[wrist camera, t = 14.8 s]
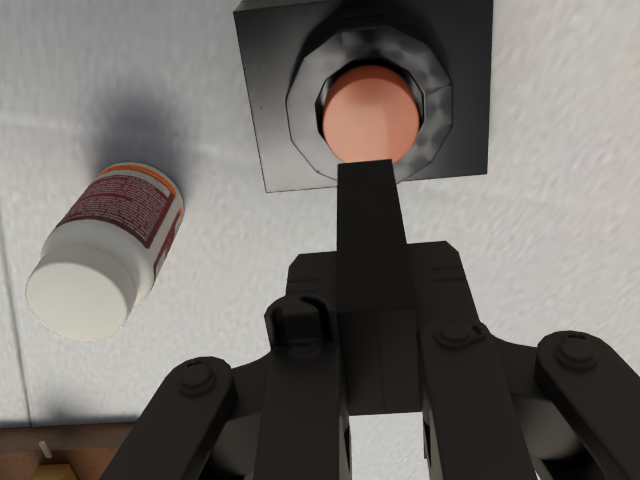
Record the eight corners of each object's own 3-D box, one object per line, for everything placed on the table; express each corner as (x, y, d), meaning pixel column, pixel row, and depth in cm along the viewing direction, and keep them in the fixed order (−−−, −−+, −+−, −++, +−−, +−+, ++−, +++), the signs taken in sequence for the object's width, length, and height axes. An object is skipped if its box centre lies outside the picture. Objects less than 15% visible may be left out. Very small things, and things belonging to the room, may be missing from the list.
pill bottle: (75, 171, 30) (-11, 267, 23) (163, 149, 29) (103, 241, 22) (117, 249, 32) (51, 358, 25) (199, 231, 31) (155, 338, 24)
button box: (270, 172, 29) (260, 212, 26) (241, 0, 25) (224, 21, 22) (478, 154, 28) (495, 193, 25) (483, -28, 24) (505, -11, 21)
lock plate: (30, 509, 45) (16, 536, 43) (-23, 420, 40) (-41, 447, 38) (172, 504, 44) (164, 532, 42) (135, 412, 39) (125, 439, 37)
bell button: (329, 155, 25) (327, 173, 23) (319, 69, 23) (316, 83, 21) (416, 147, 24) (420, 165, 23) (413, 59, 23) (417, 73, 21)
